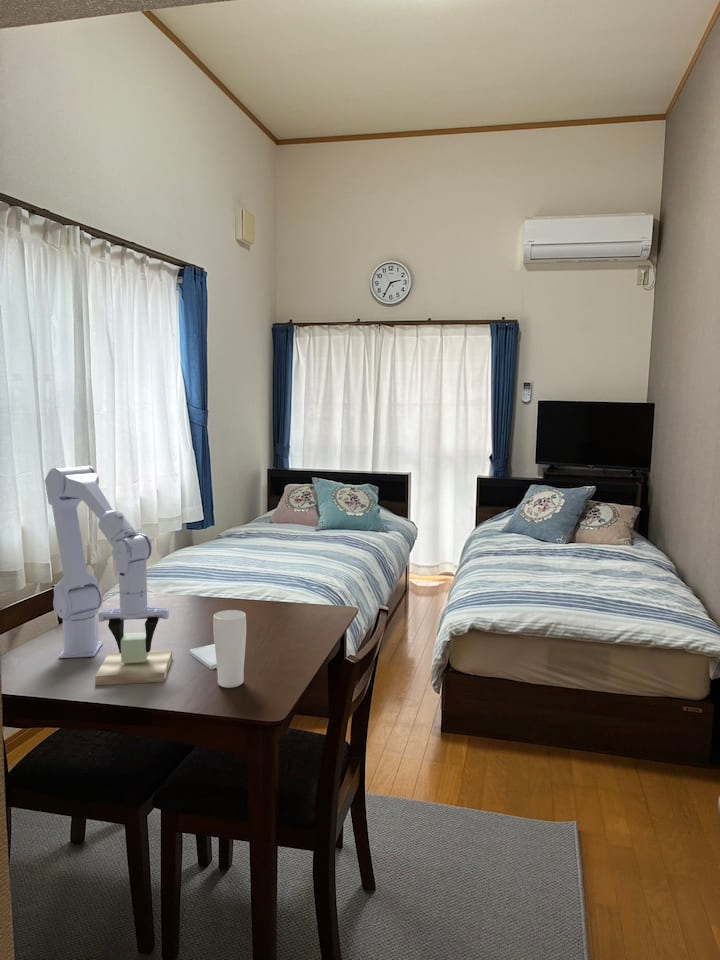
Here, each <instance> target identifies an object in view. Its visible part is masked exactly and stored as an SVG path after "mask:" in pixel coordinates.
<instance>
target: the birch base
mask: <svg viewBox="0 0 720 960" xmlns="http://www.w3.org/2000/svg"><path fill="white" fill-rule="evenodd" d="M172 661H173V649H163V650H162V649H161V650H160V649H159V650H150V652H149V655H148V657H147V659H146V661H145V662H134V663H121V653H119V651H116V652H108V654H107V656H106V657H105V659H104V661H103V662H102V664H101V666H100V667H99V669H98V670H97V672H96V674H95V675H94V679H95V680H94V681H95V682H94V683H95V684H94V685H95V686H107V685H123V684H124V685H126V684H127V685H128V684H145V683H146V684H147V683H164V682H165V681H166V678H167V675H168V673H169V669H170V666H171V663H172Z"/></svg>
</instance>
